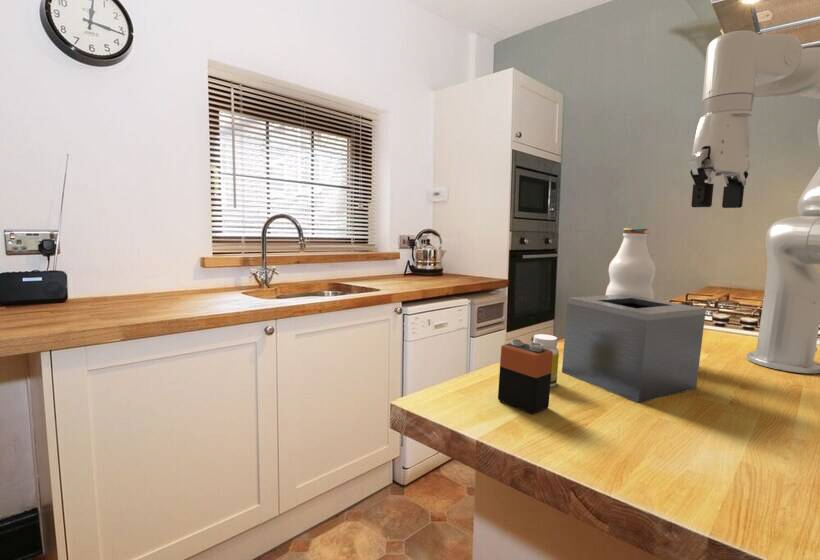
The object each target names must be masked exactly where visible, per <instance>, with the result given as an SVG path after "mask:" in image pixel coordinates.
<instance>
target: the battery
mask: <svg viewBox="0 0 820 560" xmlns="http://www.w3.org/2000/svg"><path fill="white" fill-rule="evenodd" d="M552 357H553V352H552V351H551V350H548V349H544V345H542V344H541V343H534V342H533V341H532V342H529V343H526V342H525V343H524V342H523V340H522V339H519V338H513V339H512V342H510V343H504V344H502V345H501V347H500V359H499V360H500V361H499V373H498V374H499V375H498V391H497V392H498V393H497V399H498V401H500V402H502V403H504V404H506V405H509V406H510V407H514V408H516V409H518V410H521V411H524V412H527V413H529V414H531V415H534V414H536V413H539V412H541V411H543V410H546V409H548V408H549V406H550V405H549V403H550V392H551V387H550V382H551V370H552Z"/></svg>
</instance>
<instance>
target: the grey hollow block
mask: <svg viewBox="0 0 820 560" xmlns="http://www.w3.org/2000/svg"><path fill="white" fill-rule="evenodd" d="M566 304H567V305H566V306H567V307H566V316H565V328H564V329H565V330H564V331H565V332H564V341H563V342H564V344H563V351H562V353H563V355H562V363H561V365H562V367H561V373H564V374H566V375H568V376H571V377H573V378H576V379H578V380H581V381H583V382H585V383H588V384H590V385H593V386H596V387H598V388H601V389H603V390H606V391H607V392H610V393H612V394H615V395H618V396H620V397H623V398H625V399H628V400H630V401H633V402H636V403H643V402H648V401H651V400H655V399H659V398H664V397H669V396H672V395H676V394H680V393H685V392H688V391H693V390H697V384H698V375H699V370H700V369H699V367H700V362H701V361H700V359H701V354H702V353H701V352H702V344H703V335H704V328H705V320H706V319H705V318H706V312H707V311H706V310H707V308H705V307H700V306H694V305H689V304H682V303H677V302H671V301H665V300H659V299H655V298H653V299H649V298H643V297H637V296H632V295H626V294H618V295H606V294H604V295H591V296H577V297H576V296H574V297H568V298H567V303H566Z"/></svg>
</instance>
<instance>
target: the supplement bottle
mask: <svg viewBox="0 0 820 560" xmlns="http://www.w3.org/2000/svg"><path fill="white" fill-rule="evenodd" d="M532 342H534V343H541V344H542V345H544V349H548V350H551V351H552V352H553V357H552V370H551V382H550V388H552V387H555V386H556V385H557V383H558V382H557V381H558V369H559V367H558V366H559V355H560V353H559V349H558V348H557V346H558V337H556V336H554V335H552V334H551V335H550V334H547V333H546V334H542V333H541V334H540V333H539V334H534V335H533V341H532Z"/></svg>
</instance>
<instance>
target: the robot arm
mask: <svg viewBox="0 0 820 560" xmlns="http://www.w3.org/2000/svg"><path fill="white" fill-rule="evenodd" d="M705 55H706V56H705V65H704V75H703V78H704V79H703V89H702V99H701V109H700V110H701V111H700V117H699V121H698V124H697V127H696V131H695V136H694V141H693V146H692V147H693V148H692V154H691V156H690V157H689V158H688V159H689V162H688V163H689V167H690V172H689V174H690V176H691V177H692V179H691V184H692V193H691V208H710V207H712V205H713V195H714V194H713V193H714V183H712V181H713V180H714V178H715V177H720V176H722V175H723V178H724V182H725V184H726V186H723V193H722V201H721V202H722V203H721V207H722V208H723V209H737V208H738V209H740V208H742V207H743V201H744V192H745V186H746V185H747V178H748V177H749V171H750V168H751V167H752V166H751V162H750V160H749V152H750V135H751V134H750V128H751V127H750V118H751V117H752V116H753V111H754V109H753V108H754V100H755V98H771V97H772V98H775V97H776V98H778V97H779V98H780V97H791V96H792V97H794V96H798V97H804V98H805V97H806V98H810V99H811V98H812V99H818V100H820V46H819V47H817V46H816V47H807V48H806V47H805V48H803V45H802V43H801V42H800V40H799V39H798V38H797V37H794V36H792V35H791V34H787V33H773V34H771V33H770V34H760V33H759V34H758V33H757V32H755V31H753V30H749V29H747V30H746V29H745V30H735V31H730V32H725V33H724V34H721V35H719V36H717V37H714V38H713V39H712V40H711V41H710V42H709V44H708V45H707V48H706V54H705ZM816 132H817V140H818V145H819V146H820V118H819V120H818V123H817V129H816ZM796 207H797V208H796V209H797V213H798V215H799V216H791V217H785V218H781V219H778V220H776V221H775V222H773V223H772V224H771V225H770V226H769V228H768V229H767V232H766V234H765V235H766V236H765V248H766V249H765V251H766V265H767V267H766V278H765V279H766V280H765V287H764V293H763V299H762V301H763V302H762V308H761V315H760V322H759V329H758V337H757V342H756V343H757V344H756V350H755V351H753V350H752V351H748V352H747V353H746V359H747V360H748V361H749V362H752V363H754V364H756V365H758V366H762V367H766V368H768V369H769V368H770V369H775V370H777V371H778V370H779V371H784V372H790V373H798V374H811V375H812V374H820V362H817V361H815V356H816V352H818V347H817V344H818V343H817V342H818V338H819V337H818V336H819V330H820V272H819V270H818V269H817V267H816V265H820V166H819V167H818V169H817V171H816V172H815V174H814V175H813V177H812V178H811V180H810V181H809V182H808V184H807V185H806V188H805V189H804V190H803V191H802V194H801V196H800V197H799V199H798V202H797V206H796Z"/></svg>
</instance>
